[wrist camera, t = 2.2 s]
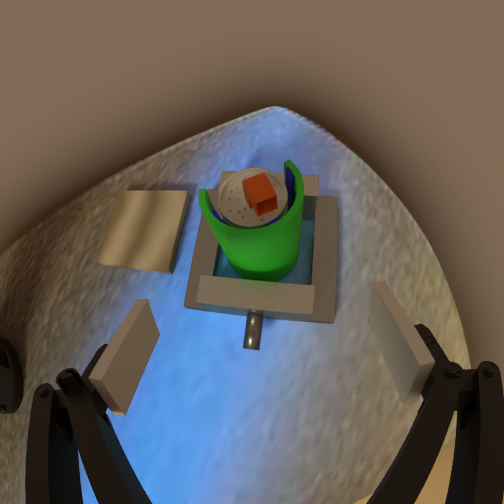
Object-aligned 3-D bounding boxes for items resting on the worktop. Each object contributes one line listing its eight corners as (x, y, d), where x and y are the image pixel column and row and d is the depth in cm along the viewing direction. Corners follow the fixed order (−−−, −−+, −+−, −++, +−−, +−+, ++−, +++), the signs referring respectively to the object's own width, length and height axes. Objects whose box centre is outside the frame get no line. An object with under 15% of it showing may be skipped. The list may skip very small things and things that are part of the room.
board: (102, 264, 39) (97, 261, 37) (124, 195, 43) (120, 191, 42) (172, 273, 37) (168, 270, 36) (190, 196, 41) (187, 190, 40)
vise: (182, 339, 34) (163, 334, 28) (210, 194, 41) (199, 170, 35) (329, 356, 31) (338, 355, 26) (335, 202, 38) (342, 177, 33)
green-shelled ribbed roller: (277, 212, 39) (270, 112, 22) (312, 258, 36) (334, 172, 19) (219, 248, 38) (174, 163, 21) (252, 298, 35) (223, 240, 18)
